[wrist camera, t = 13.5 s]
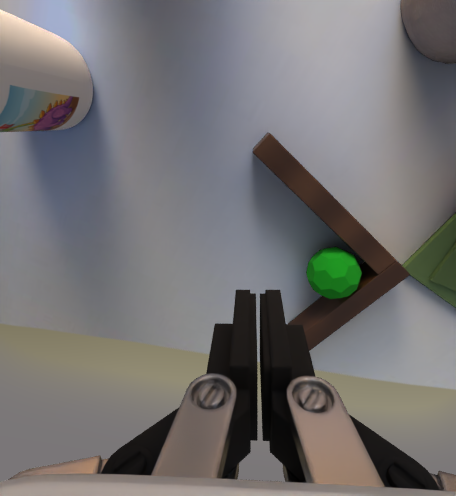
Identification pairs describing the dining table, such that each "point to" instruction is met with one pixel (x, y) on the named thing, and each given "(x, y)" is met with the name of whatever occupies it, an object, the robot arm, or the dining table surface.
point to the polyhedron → (334, 273)
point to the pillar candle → (432, 27)
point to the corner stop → (349, 230)
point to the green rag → (437, 262)
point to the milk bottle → (40, 79)
